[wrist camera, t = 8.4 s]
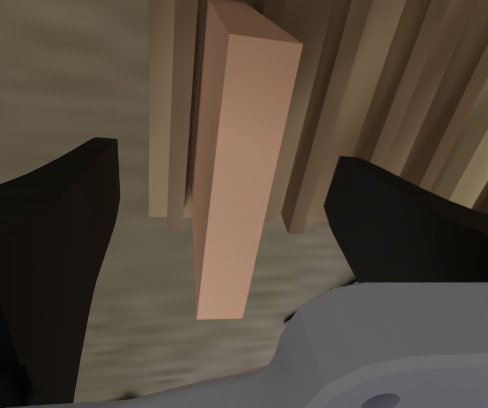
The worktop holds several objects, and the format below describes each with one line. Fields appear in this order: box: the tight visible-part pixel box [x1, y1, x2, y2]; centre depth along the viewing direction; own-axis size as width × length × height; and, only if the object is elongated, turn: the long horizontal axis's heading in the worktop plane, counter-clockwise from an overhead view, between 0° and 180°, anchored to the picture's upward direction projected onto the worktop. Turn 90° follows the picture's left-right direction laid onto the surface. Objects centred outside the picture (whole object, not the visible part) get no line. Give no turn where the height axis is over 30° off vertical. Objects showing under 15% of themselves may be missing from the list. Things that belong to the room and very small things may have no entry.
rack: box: [149, 0, 488, 234], centre depth 18 cm, size 26×13×3 cm, turn 82°
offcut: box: [430, 78, 488, 209], centre depth 18 cm, size 2×7×3 cm, turn 172°
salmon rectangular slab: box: [191, 0, 303, 319], centre depth 13 cm, size 2×9×8 cm, turn 172°
